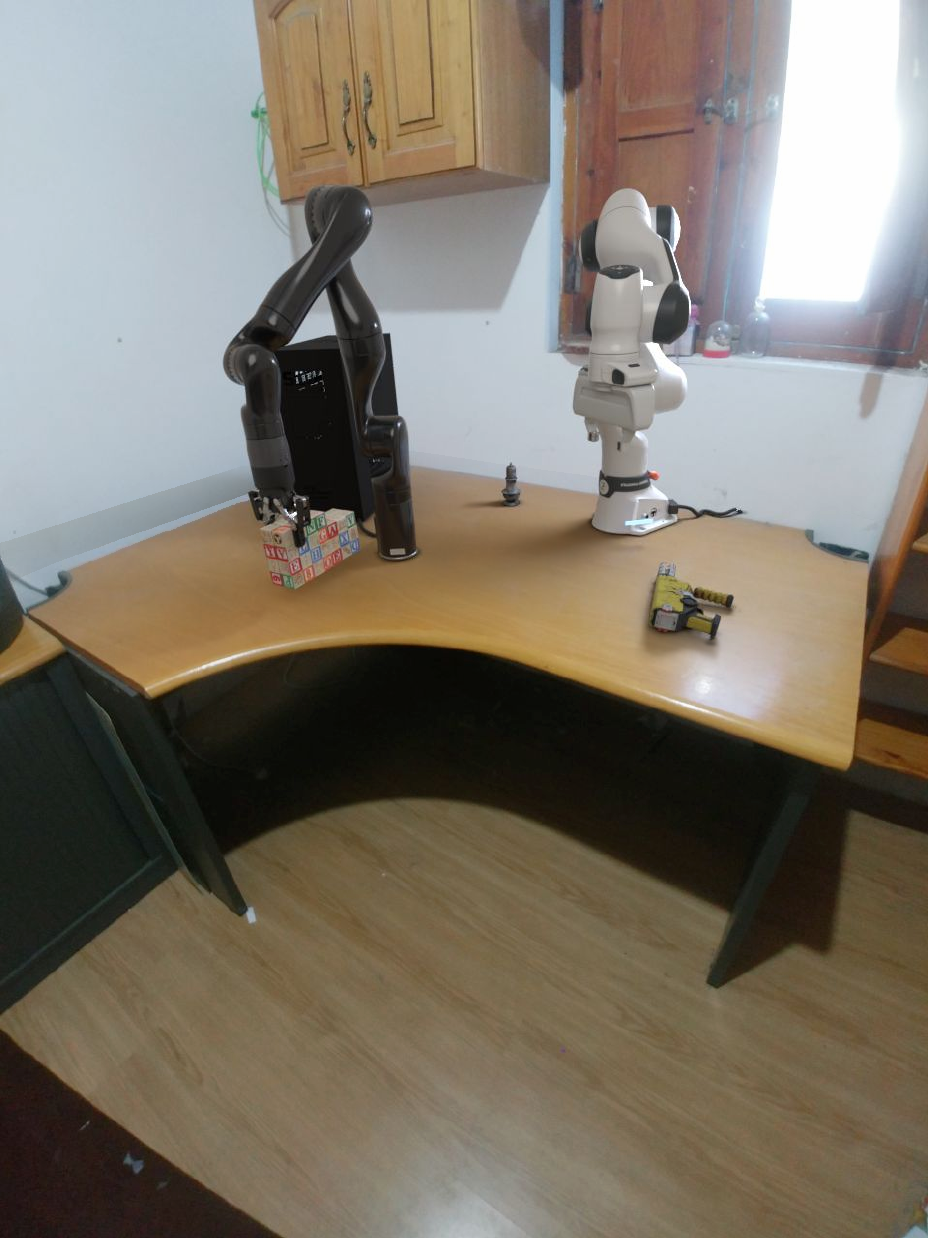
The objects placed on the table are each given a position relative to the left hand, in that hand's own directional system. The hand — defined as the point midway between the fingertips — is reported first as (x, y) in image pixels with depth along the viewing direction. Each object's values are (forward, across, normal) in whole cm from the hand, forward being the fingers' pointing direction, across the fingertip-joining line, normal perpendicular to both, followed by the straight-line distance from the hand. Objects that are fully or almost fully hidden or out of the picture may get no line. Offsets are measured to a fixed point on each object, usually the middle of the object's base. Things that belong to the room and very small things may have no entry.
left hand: (287, 543), depth 120 cm
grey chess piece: (+14, +13, +76) cm, 78 cm away
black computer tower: (+14, -34, +62) cm, 72 cm away
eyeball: (+14, -33, +30) cm, 47 cm away
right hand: (-15, +53, +36) cm, 66 cm away
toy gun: (+15, +73, +32) cm, 81 cm away
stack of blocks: (+8, 0, +7) cm, 11 cm away
